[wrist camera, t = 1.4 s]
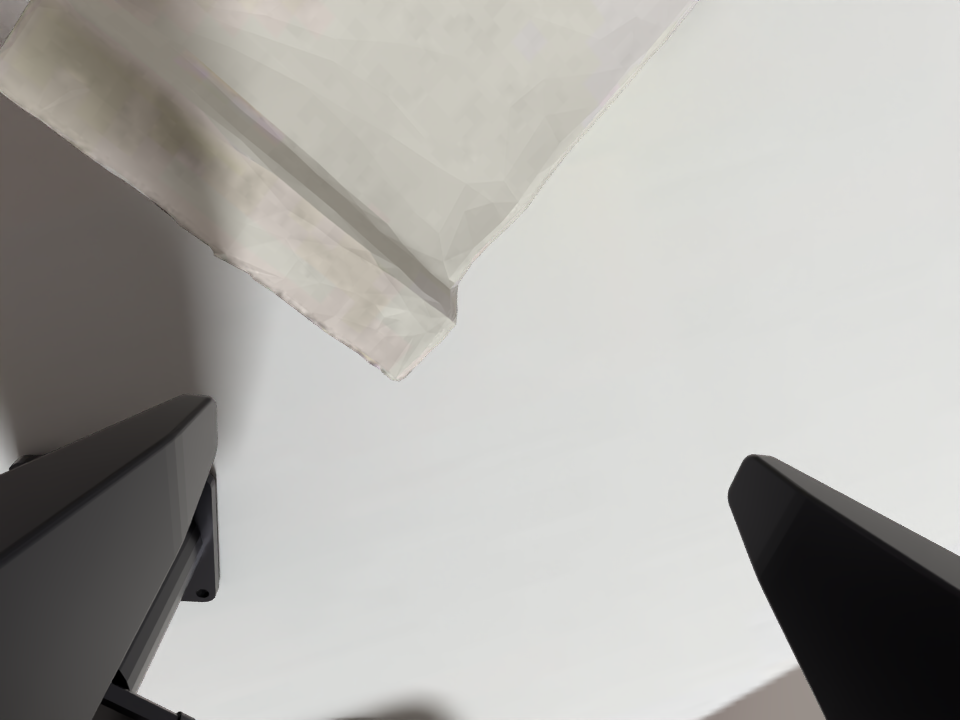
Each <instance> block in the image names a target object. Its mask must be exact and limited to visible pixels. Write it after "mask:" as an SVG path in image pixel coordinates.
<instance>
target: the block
mask: <svg viewBox="0 0 960 720" xmlns="http://www.w3.org/2000/svg"><path fill="white" fill-rule="evenodd" d="M698 1H699V0H30V2H29V3H28V5H27V7H26V8H25V10H24V12H23V13H22V15H21V16H20V18H19V20H18V21H17V23H16V25H15V26H14V28H13V30H12V31H11V33H10V35H9V36H8V38H7V40H6V41H5V43H4V44H3V46H2V47H1V49H0V92H1V93H2V94H4V95H5V96H6V97H7V98H9V99H10V100H11V101H13V102H14V103H15V104H17V105H18V106H19V107H21V108H22V109H23V110H25V111H26V112H28V113H30V114H31V115H33V116H34V117H36V118H38V119H39V120H41V121H42V122H43V123H45V124H46V125H47V126H48V127H50V128H51V129H52V130H54V131H55V132H56V133H57V134H59V135H60V136H61V137H62V138H64V139H65V140H66V141H68V142H69V143H71V144H72V145H73V146H75V147H76V148H77V149H79V150H80V151H81V152H83V153H84V154H85V155H87V156H88V157H90V158H91V159H92V160H94V161H95V162H97V163H98V164H99V165H101V166H102V167H104V168H105V169H106V170H108V171H109V172H111V173H112V174H114V175H116V176H117V177H119V178H121V179H122V180H124V181H125V182H127V183H128V184H129V185H131V186H132V187H133V188H135V189H136V190H137V191H139V192H140V193H142V194H143V195H144V196H146V197H147V198H148V199H150V200H151V201H152V202H154V203H155V204H156V205H157V206H159V207H160V208H161V209H162V210H164V211H165V212H166V213H168V214H169V215H170V216H171V217H172V218H173V219H174V220H175V221H176V222H177V223H178V224H179V225H180V226H181V227H183V228H184V229H185V230H187V231H188V232H190V233H191V234H192V235H194V236H195V237H197V238H198V239H200V240H201V241H202V242H204V243H205V244H207V245H208V246H210V247H211V249H212V250H213V252H214V256H216V257H218V258H220V259H222V260H224V261H226V262H228V263H229V264H231V265H233V266H235V267H237V268H239V269H241V270H243V271H245V272H247V273H248V274H250V276H251V277H252V278H253V279H254V280H255V281H257V282H258V283H260V284H262V285H263V286H265V287H266V288H267V289H269V290H270V291H272V292H273V293H275V294H276V295H277V296H279V297H280V298H281V299H283V300H284V301H285V302H286V303H288V304H289V305H290V306H292V307H293V308H294V309H296V310H297V311H298V312H300V313H301V314H302V315H304V316H305V317H306V318H307V319H309V320H310V321H311V322H313V323H314V324H315V325H317V326H318V327H319V328H321V329H322V330H323V331H325V332H326V333H328V334H329V335H330V336H332V337H334V338H335V339H337V340H339V341H340V342H342V343H343V344H345V345H346V346H348V347H349V348H351V349H352V350H354V351H355V352H357V353H358V354H359V355H361V356H362V357H363V358H364V359H365V360H366V361H368V362H369V363H370V364H372V365H373V366H375V367H377V368H378V369H380V370H381V371H382V373H384V374H385V375H386V376H387V377H389V378H390V379H391V380H393V381H401V380H402V379H404V378H406V376H407V375H408V374H409V373H410V372H411V371H412V370H413V369H414V368H415V367H416V366H417V365H418V364H419V363H420V362H421V361H422V360H423V359H424V358H425V357H426V356H427V354H428V353H430V352H431V351H432V350H433V349H434V348H435V347H436V346H438V345H439V344H440V343H441V342H442V341H443V339H444V338H445V337H446V336H447V334H448V333H449V332H450V331H451V330H452V328H453V327H454V326H455V325H456V319H457V290H458V284H459V282H460V281H461V279H462V278H463V276H464V275H465V273H466V272H467V270H468V269H469V267H470V266H471V264H472V263H473V262H474V261H475V260H476V259H477V258H478V256H479V255H480V254H481V253H482V252H483V251H484V250H485V249H486V248H487V247H488V246H489V245H490V244H491V243H492V242H493V241H494V240H495V239H496V238H497V237H498V236H500V235H501V234H502V233H503V232H504V231H505V230H506V229H507V228H508V227H509V226H510V225H511V224H512V223H513V222H514V221H515V220H516V219H517V218H518V217H519V216H520V215H521V214H522V213H523V212H524V211H525V210H526V209H527V207H528V206H529V205H530V203H531V202H532V200H533V199H534V198H535V196H536V195H537V193H538V192H539V190H540V189H541V188H542V186H543V185H544V184H545V182H546V181H547V180H548V178H549V177H550V176H551V174H552V173H553V172H554V170H555V169H556V168H557V166H558V165H559V164H560V163H561V161H562V160H563V159H564V157H565V156H566V155H567V154H568V152H569V151H570V150H571V149H572V148H573V147H574V146H575V145H576V143H577V142H578V141H579V140H580V139H581V138H582V137H583V136H584V134H585V133H586V132H587V131H588V130H589V129H590V128H591V127H592V125H593V124H594V123H595V122H596V121H597V120H598V119H599V118H600V116H601V115H602V114H603V113H604V112H605V111H606V109H607V108H608V107H609V106H610V105H611V104H612V102H613V101H614V100H615V99H616V98H617V97H618V95H619V94H620V93H621V92H622V91H623V90H624V88H625V87H626V86H627V85H628V84H629V82H630V81H631V80H632V79H633V78H634V76H635V75H636V74H637V73H638V72H639V70H640V69H641V68H642V67H643V66H644V64H645V63H646V62H647V61H648V60H649V58H650V57H651V56H652V55H653V54H654V53H655V52H656V51H657V50H658V49H659V48H660V47H661V46H662V45H663V44H664V43H665V42H666V40H667V39H668V38H669V37H670V35H671V34H672V33H673V32H674V30H675V29H676V28H677V27H678V25H679V24H680V23H681V22H682V21H683V19H684V18H685V17H686V16H687V14H688V13H689V12H690V11H691V9H692V8H693V7H694V6H695V4H696V3H697V2H698Z"/></svg>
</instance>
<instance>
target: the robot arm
mask: <svg viewBox="0 0 960 720" xmlns="http://www.w3.org/2000/svg"><path fill="white" fill-rule="evenodd" d="M217 444H218V437H217V406H216V402H215V400H214V398H213V397H211V396H204V395H195V394H183V395H181V396H178V397H176V398H174V399H172V400H169V401H167V402H165V403H162V404H160V405H158V406H156V407H153V408H151V409H149V410H146V411H144V412H142V413H140V414H137V415H135V416H133V417H130V418H128V419H126V420H124V421H121V422H119V423H117V424H115V425H112V426H110V427H108V428H105V429H103V430H101V431H99V432H96V433H94V434H92V435H89V436H87V437H85V438H83V439H80V440H78V441H76V442H73V443H71V444H69V445H67V446H64V447H62V448H60V449H57V450H55V451H53V452H51V453H48V454H46V455H44V456H34V455H25V456H22V457H20V458H19V459H18V460H17V461H16V462H15V463H13V464H12V465H11V467H10V468H9V471H7V472H5V473H3V474H0V720H195V719H194V718H192V717H190V716H188V715H186V714H184V713H182V712H178V713H174V712H172V711H170V710H168V709H166V708H164V707H162V706H160V705H158V704H156V703H154V702H152V701H150V700H148V699H146V698H144V697H142V696H140V695H138V694H136V693H137V691H138V689H139V687H140V685H141V683H142V681H143V679H144V677H145V675H146V672H147V670H148V668H149V666H150V664H151V662H152V660H153V658H154V656H155V653H156V651H157V649H158V647H159V645H160V643H161V641H162V639H163V637H164V635H165V632H166V630H167V628H168V626H169V624H170V622H171V620H172V618H173V616H174V613H175V611H176V609H177V607H178V605H179V603H180V601H193V602H208V601H211V600H213V599H214V598H215V596H216V593H217V591H218V588H219V569H218V541H217V513H216V486H215V479H214V477H213V476H212V475H211V474H210V473H209V472H210V469H211V466H212V464H213V461H214V458H215V455H216V451H217ZM728 503H729V506H730V508H731V511H732V514H733V516H734V519H735V522H736V524H737V527H738V530H739V532H740V535H741V537H742V540H743V543H744V545H745V548H746V551H747V553H748V556H749V558H750V561H751V564H752V566H753V569H754V571H755V574H756V576H757V579H758V581H759V583H760V585H761V588H762V590H763V592H764V594H765V596H766V598H767V600H768V602H769V604H770V606H771V608H772V610H773V612H774V614H775V616H776V619H777V621H778V623H779V625H780V627H781V629H782V631H783V633H784V635H785V637H786V639H787V641H788V643H789V645H790V647H791V649H792V651H793V653H794V655H795V657H796V659H797V661H798V663H799V665H800V668H801V670H802V672H803V674H804V676H805V678H806V680H807V682H808V684H809V686H810V688H811V690H812V692H813V694H814V696H815V698H816V700H817V702H818V704H819V706H820V708H821V710H822V712H823V714H824V717H825V719H826V720H960V556H958V555H956V554H954V553H953V552H951V551H949V550H947V549H945V548H943V547H941V546H939V545H938V544H936V543H934V542H932V541H930V540H928V539H926V538H924V537H923V536H921V535H919V534H917V533H915V532H913V531H911V530H909V529H908V528H906V527H904V526H902V525H900V524H898V523H896V522H894V521H893V520H891V519H889V518H887V517H885V516H883V515H881V514H879V513H878V512H876V511H874V510H872V509H870V508H868V507H866V506H864V505H863V504H861V503H859V502H857V501H855V500H853V499H851V498H849V497H848V496H846V495H844V494H842V493H840V492H838V491H836V490H834V489H833V488H831V487H829V486H827V485H825V484H823V483H821V482H820V481H818V480H816V479H814V478H812V477H810V476H808V475H806V474H805V473H803V472H801V471H799V470H797V469H795V468H793V467H791V466H790V465H788V464H786V463H784V462H782V461H780V460H778V459H776V458H774V457H772V456H766V455H756V454H751V455H748V456H747V457H746V458H745V459H744V460H743V462H742V464H741V466H740V468H739V470H738V472H737V474H736V476H735V478H734V480H733V482H732V484H731V486H730V488H729V490H728Z"/></svg>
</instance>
